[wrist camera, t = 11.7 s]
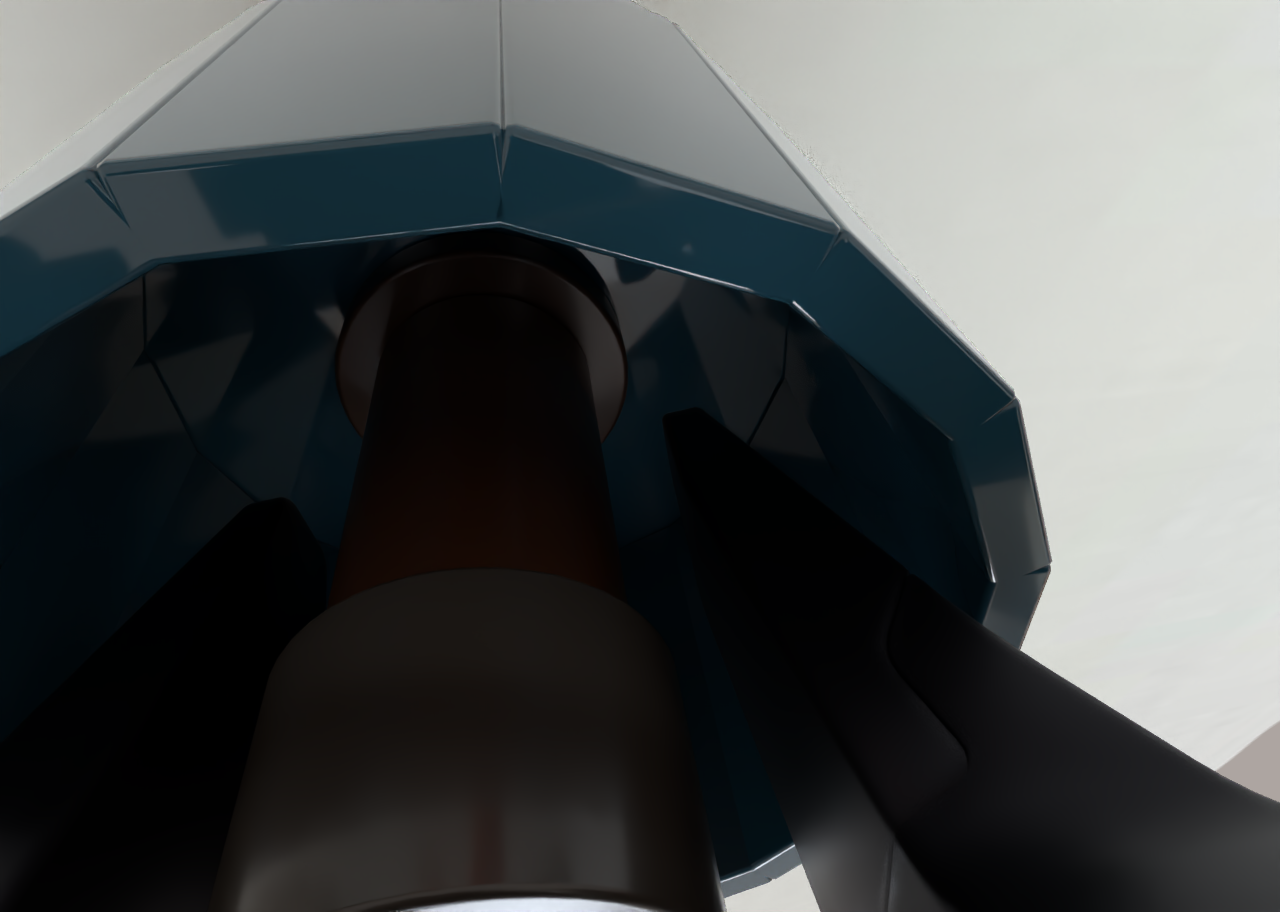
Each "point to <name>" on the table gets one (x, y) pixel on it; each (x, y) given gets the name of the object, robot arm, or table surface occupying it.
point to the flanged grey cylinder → (475, 628)
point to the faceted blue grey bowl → (449, 204)
